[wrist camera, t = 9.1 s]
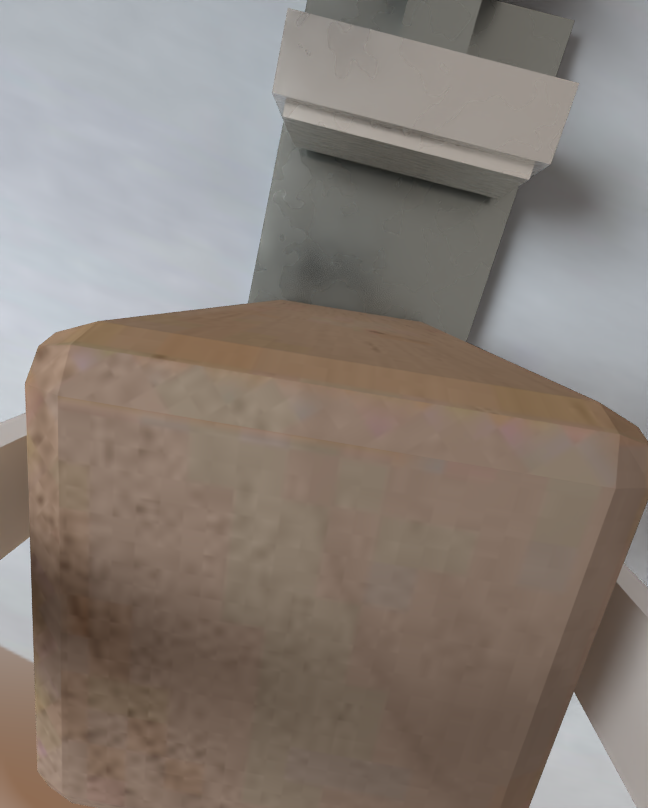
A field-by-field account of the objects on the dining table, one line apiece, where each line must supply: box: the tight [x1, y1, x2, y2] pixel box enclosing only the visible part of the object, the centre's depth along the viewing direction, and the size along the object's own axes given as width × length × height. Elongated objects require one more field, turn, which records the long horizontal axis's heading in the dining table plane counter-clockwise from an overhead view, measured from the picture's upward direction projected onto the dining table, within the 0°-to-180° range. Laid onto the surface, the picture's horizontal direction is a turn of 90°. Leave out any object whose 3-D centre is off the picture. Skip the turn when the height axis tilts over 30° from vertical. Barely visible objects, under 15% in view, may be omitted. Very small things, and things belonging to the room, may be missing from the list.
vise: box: [248, 0, 575, 342], centre depth 23 cm, size 31×13×6 cm, turn 166°
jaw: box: [272, 0, 579, 199], centre depth 19 cm, size 11×12×5 cm
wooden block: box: [25, 300, 648, 808], centre depth 17 cm, size 10×10×20 cm
